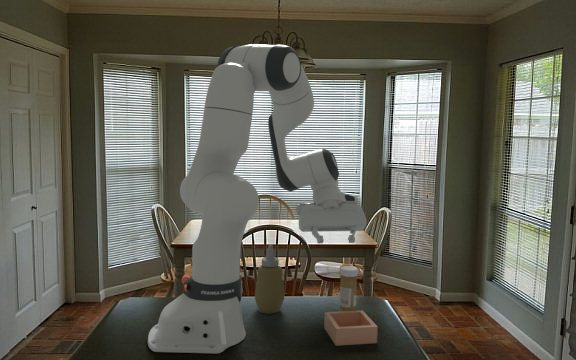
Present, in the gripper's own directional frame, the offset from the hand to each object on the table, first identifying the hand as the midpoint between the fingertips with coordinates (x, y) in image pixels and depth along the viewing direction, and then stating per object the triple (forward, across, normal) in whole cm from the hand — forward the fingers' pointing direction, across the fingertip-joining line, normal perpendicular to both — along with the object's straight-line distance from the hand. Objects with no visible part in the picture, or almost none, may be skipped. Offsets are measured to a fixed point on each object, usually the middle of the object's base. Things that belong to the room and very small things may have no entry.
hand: (336, 242), depth 134 cm
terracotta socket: (+28, -3, -4) cm, 29 cm away
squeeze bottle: (+16, -20, +9) cm, 27 cm away
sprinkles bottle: (+21, 0, +4) cm, 21 cm away
